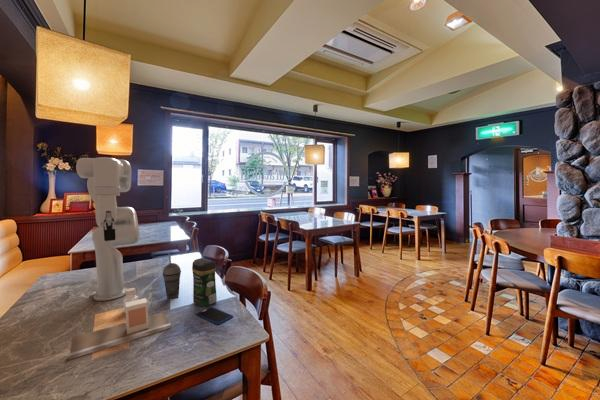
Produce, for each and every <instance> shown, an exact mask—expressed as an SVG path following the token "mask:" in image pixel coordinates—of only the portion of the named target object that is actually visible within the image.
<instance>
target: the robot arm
mask: <svg viewBox="0 0 600 400" xmlns="http://www.w3.org/2000/svg"><path fill="white" fill-rule="evenodd" d="M75 165H76V166H75V169H76V174H77V175H78V176H79V178H80V179H87V181H86V185H87V186H86V187H87V191H88V194H89V196H90V198H91V200H92V201H93V204H94V206H95V210H94V212H95V222H96V225H97V226H98V227H96V228H95V229H94V230H93V231H92V235H91V237H92V239H91V240H92V243H93V245H94V246H93V247H94V251H95V263H96V264H95V265H96V280H97V284H95V285H93V287H92V288H91V291H92V292H95V294H94V295H93V301H94V300H95V301H97V302H98V301H99V302H100V301H101V302H103V301H111V300H115V299H118V298H122V297H123V296H126V290H127V289H129V288H127V287H125V286H124V285H125V284H124V263H123V254H122V253H121V252H120V250H118V249H117V248H116V247H119V246H120V247H121V246H128V245H134V244H136V243H138V242H139V241H140V236H141V234H140V227H139V221H138V215H137V211H136V210H135V209H134V208H133V207H131V206H118V201H117V196H118V197H119V196H121V193H127V192H129V191H130V190H131V187H132V173H133V171H132V167H131V163H130V162H129V161H127V160H125V159H116V158H113V157H106V156H105V157H104V156H103V157H101V156H100V157H95V158H94V157H80V158H78V159H77V161H76V164H75Z"/></svg>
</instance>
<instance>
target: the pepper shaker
mask: <svg viewBox="0 0 600 400" xmlns="http://www.w3.org/2000/svg"><path fill="white" fill-rule="evenodd" d="M136 292H137V291H136V287H130V288H128V289H127V290H126V294H125V297H124V298H123V300H122V302H123V303H122V305H123V313H126V309H125V303H126V302H131V301H135V300H139V298H140V297H139V295H136Z"/></svg>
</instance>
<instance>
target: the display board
mask: <svg viewBox="0 0 600 400" xmlns="http://www.w3.org/2000/svg"><path fill="white" fill-rule="evenodd" d="M148 327H149V328H147V329H143V330H140V331H136V332H133V333H130V334H127V329H126V322H123V323H120V324H116V325H112V326H109V327H106V328H101V329H98V330H95V331H91V332H87V333H83V334H80V335H77V336H73V337H72V341H71V347H70V352H69V354H68V360H71V359H72V360H73V359H75V358H76V359H77V358H78V357H81V356H85V355H88V354H93V353H95V352H98V351H102V350H104V349H107V348H111V347H113V346H117V345H121V344H124V343H128V342H130V341H133V340H136V339H139V338H142V337H146V336H150V335H153V334H156V333H159V332H161V331H165V330H168V329H171V328H172V324H171V322H169V321H168V319H167V316H166V314H165V312H160V313H156V314H153V315H148Z"/></svg>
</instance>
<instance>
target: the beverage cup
mask: <svg viewBox="0 0 600 400" xmlns="http://www.w3.org/2000/svg"><path fill="white" fill-rule="evenodd" d="M167 254H168V256H167V257H168V261H169V263H168V264H166V265H165V267H164V268H163V270H162V277H163V281H164V282H163V283H164V288H165V295H166V300H167V301H168V300H169V301H170V300H171V301H172V300H176V299H177V300H178V299H179V296H180V282H181V279H180V278H181V274H182V271H181V267H180V266H179V264H177V263H175V262H174V263H173V262H171V256H170V253H167Z"/></svg>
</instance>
